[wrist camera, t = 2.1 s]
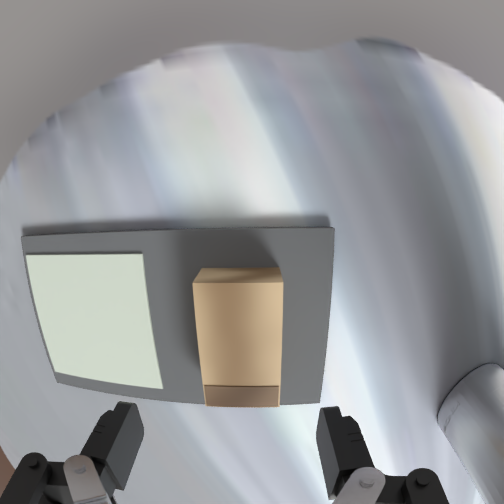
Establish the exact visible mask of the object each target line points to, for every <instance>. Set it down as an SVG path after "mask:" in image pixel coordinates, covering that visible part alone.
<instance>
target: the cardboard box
mask: <svg viewBox="0 0 504 504" xmlns="http://www.w3.org/2000/svg"><path fill="white" fill-rule="evenodd" d="M193 296H194V308H195V319H196V329H197V339H198V348H199V357H200V366H201V374H202V382H203V390H204V398H205V405H206V406H214V407H279V406H280V384H281V358H282V324H283V279H282V275H281V271H280V267H271V268H202V269H201V270H200V272H199V273H198V275H197V277H196V278H195V280H194V281H193Z"/></svg>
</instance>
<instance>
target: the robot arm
mask: <svg viewBox="0 0 504 504" xmlns="http://www.w3.org/2000/svg"><path fill="white" fill-rule="evenodd" d="M438 424H439V427H440V428H441V430H442V431H443V433H444V434H445V436H446V438H447V439H448V441H449V442H450V444H451V446H452V447H453V449H454V451H455V452H456V454H457V456H458V457H459V459H460V461H461V462H462V464H463V466H464V467H465V469H466V471H467V473H468V474H469V476H470V478H471V479H472V481H473V483H474V485H475V486H476V488H477V490H478V492H479V493H480V495H481V497H482V499H483V501H484V502H485V504H504V369H502V368H501V367H500V366H499V365H497V364H486V365H483V366H481V367H479V368H477V369H475V370H474V371H472V372H471V373H469V374H468V375H467V376H466V377H464V378H463V379H462V380H461V381H460V382H459V383H458V384H457V385H456V386H455V387H454V388H453V390H452V391H451V392H450V393H449V395H448V396H447V398H446V399H445V401H444V402H443V404H442V406H441V408H440V411H439V414H438ZM143 436H144V427H143V423H142V420H141V417H140V414H139V411H138V408H137V405H136V404H135V403H129V402H122V401H119V402H118V403H117V405H116V407H115V409H114V411H111V410H108V411H107V412H106V413H104V414H103V415H102V416H101V417H100V419H99V420H98V422H97V425H96V426H95V428H94V429H93V432H92V433H91V435H90V437H89V438H88V440H87V442H86V444H85V446H84V447H83V449H82V451H81V453H80V454H79V455H74V456H71V457H70V458H68V459H67V460H66V461H65V462H49V461H47V459H46V458H45V457H44V456H43V455H42V454H40V453H29V454H27V455H25V456H24V457H23V458H22V460H21V462H20V463H19V465H18V467H17V468H16V470H15V472H14V474H13V475H12V478H11V479H10V481H9V483H8V485H7V486H6V488H5V490H4V492H3V494H2V496H1V498H0V504H118V503H117V501H116V499H115V497H114V495H113V493H114V490H115V489H119V490H123V491H124V489H125V486H126V483H127V480H128V477H129V475H130V472H131V469H132V467H133V464H134V461H135V458H136V456H137V453H138V450H139V448H140V445H141V442H142V440H143ZM316 440H317V446H318V451H319V455H320V460H321V465H322V469H323V474H324V479H325V483H326V488H327V493H328V498H329V500H332V499H335V500H334V502H333V503H332V504H449V502H448V500H447V497H446V495H445V492H444V490H443V488H442V485H441V483H440V481H439V478H438V476H437V475H436V473H435V472H433V471H432V470H430V469H426V468H419V469H416V470H413V471H412V472H410V473H409V474H408V476H388V475H385V474H383V473H382V472H381V471H380V470H378V469H376V468H375V467H374V465H373V462H372V459H371V457H370V454H369V451H368V449H367V446H366V443H365V441H364V438H363V435H362V434H361V430H360V428H359V425H358V423H357V422H356V421H355V420H354V419H353V418H352V417H351V416H345V417H342V415H341V412H340V409H339V407H338V406H334V407H324V408H321V409H320V413H319V419H318V425H317V431H316Z"/></svg>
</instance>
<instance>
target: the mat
mask: <svg viewBox="0 0 504 504" xmlns="http://www.w3.org/2000/svg"><path fill="white" fill-rule="evenodd" d="M334 232H335V228H333V227H260V228H201V229H163V230H133V231H107V232H85V233H64V234H46V235H29V236H22V237H21V241H22V249H23V255H24V262H25V268H26V273H27V278H28V284H29V288H30V293H31V298H32V302H33V306H34V310H35V314H36V318H37V322H38V326H39V329H40V333H41V336H42V340H43V343H44V346H45V349H46V352H47V355H48V358H49V361H50V364H51V367H52V370H53V373H54V376H55V378H56V381H57V383H62V384H66V385H70V386H75V387H79V388H84V389H89V390H94V391H99V392H104V393H110V394H116V395H122V396H129V397H136V398H143V399H151V400H160V401H170V402H181V403H194V404H205V398H204V390H203V382H202V374H201V366H200V357H199V348H198V339H197V329H196V319H195V308H194V296H193V281H194V280H195V278H196V277H197V275H198V273H199V272H200V270H201V269H202V268H271V267H280V271H281V275H282V279H283V324H282V358H281V384H280V405H294V404H311V403H320V397H321V390H322V382H323V374H324V366H325V357H326V348H327V339H328V328H329V317H330V305H331V291H332V276H333V257H334Z"/></svg>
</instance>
